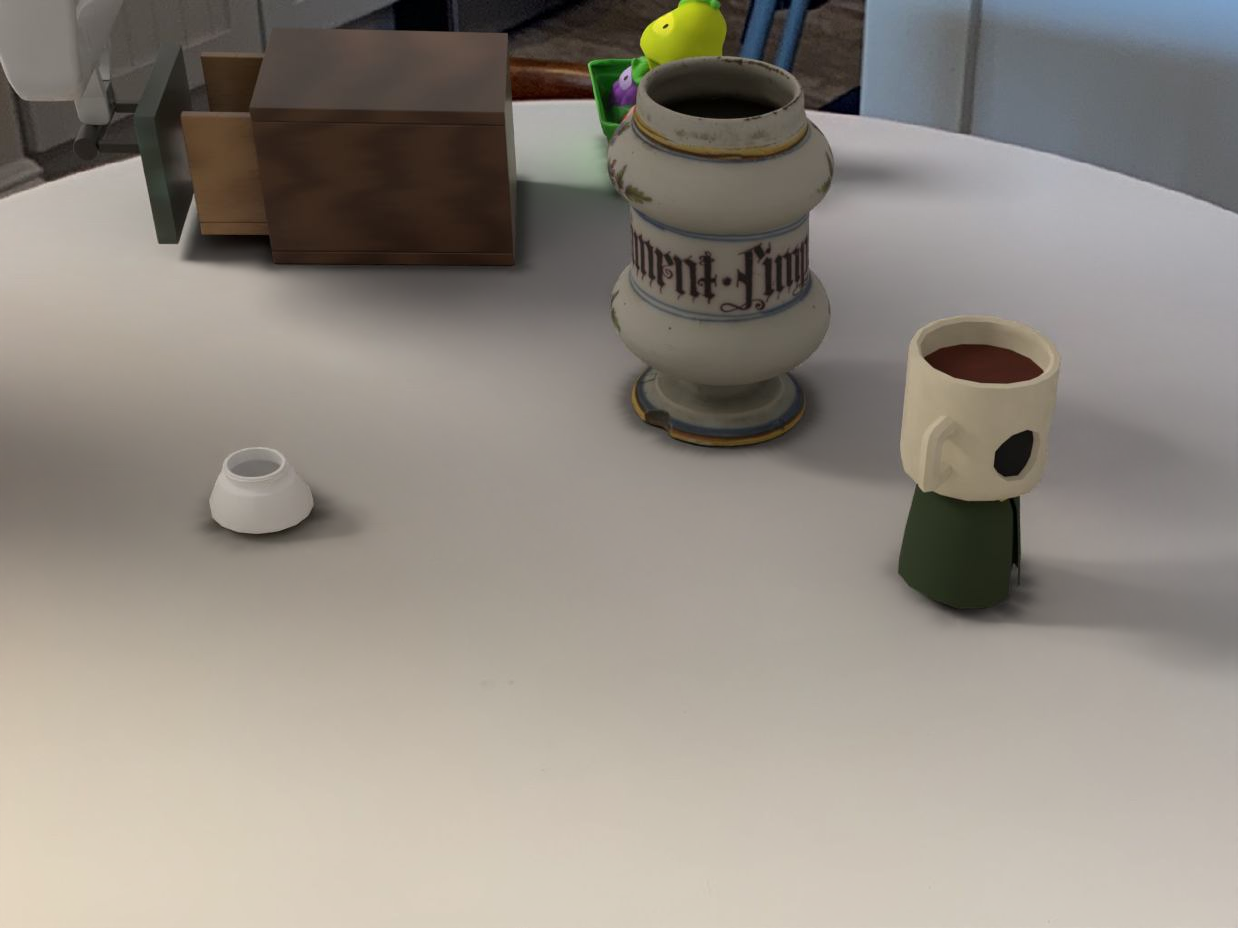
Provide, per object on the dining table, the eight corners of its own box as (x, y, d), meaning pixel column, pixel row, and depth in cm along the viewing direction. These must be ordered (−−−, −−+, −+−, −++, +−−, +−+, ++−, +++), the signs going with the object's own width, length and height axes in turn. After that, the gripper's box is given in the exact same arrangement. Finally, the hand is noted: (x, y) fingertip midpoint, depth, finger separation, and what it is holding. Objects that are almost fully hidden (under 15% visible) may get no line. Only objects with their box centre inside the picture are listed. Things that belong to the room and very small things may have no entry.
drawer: (84, 243, 115) (55, 115, 110) (115, 164, 123) (89, 41, 118) (385, 246, 117) (371, 121, 112) (395, 168, 125) (383, 47, 120)
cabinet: (273, 263, 117) (248, 107, 110) (292, 176, 126) (271, 27, 119) (514, 265, 119) (504, 112, 112) (516, 179, 128) (507, 32, 121)
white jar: (194, 506, 97) (243, 551, 95) (184, 456, 95) (233, 501, 93) (282, 476, 100) (332, 519, 97) (274, 426, 98) (324, 469, 95)
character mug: (972, 660, 92) (1004, 422, 83) (844, 611, 94) (862, 375, 85) (1064, 554, 99) (1102, 326, 90) (943, 512, 101) (969, 284, 93)
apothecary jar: (567, 405, 107) (553, 82, 94) (704, 329, 114) (707, 21, 102) (735, 482, 102) (743, 154, 90) (866, 399, 110) (890, 84, 97)
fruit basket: (588, 131, 134) (582, -37, 126) (712, 129, 136) (715, -37, 128) (603, 201, 126) (598, 26, 118) (735, 199, 128) (739, 26, 120)
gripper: (17, -188, 113) (76, 49, 122) (-62, -70, 98) (12, 189, 108) (127, -188, 113) (177, 48, 123) (65, -70, 99) (127, 187, 109)
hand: (100, 115), depth 115 cm, fingers closed, pressing on drawer
